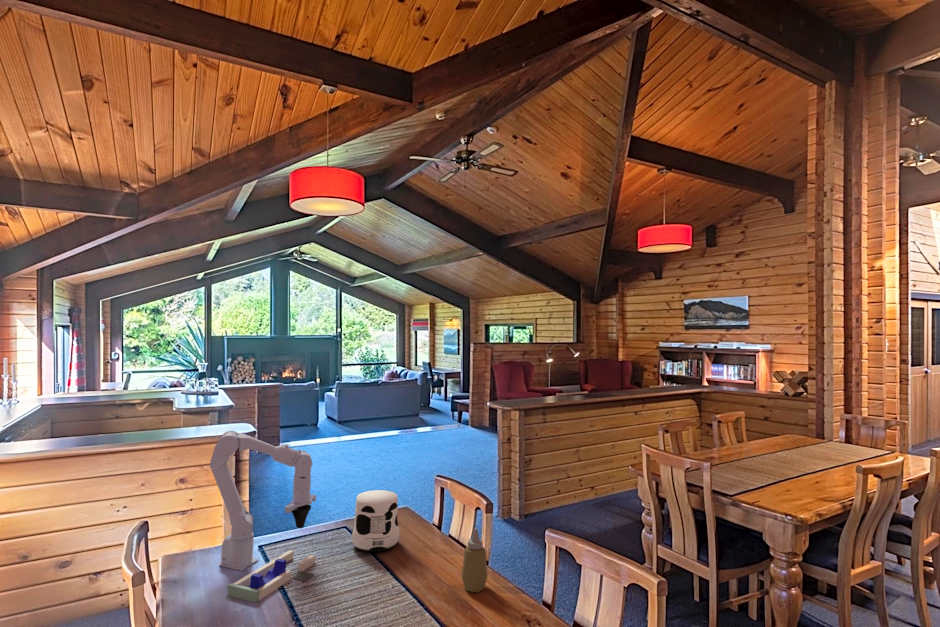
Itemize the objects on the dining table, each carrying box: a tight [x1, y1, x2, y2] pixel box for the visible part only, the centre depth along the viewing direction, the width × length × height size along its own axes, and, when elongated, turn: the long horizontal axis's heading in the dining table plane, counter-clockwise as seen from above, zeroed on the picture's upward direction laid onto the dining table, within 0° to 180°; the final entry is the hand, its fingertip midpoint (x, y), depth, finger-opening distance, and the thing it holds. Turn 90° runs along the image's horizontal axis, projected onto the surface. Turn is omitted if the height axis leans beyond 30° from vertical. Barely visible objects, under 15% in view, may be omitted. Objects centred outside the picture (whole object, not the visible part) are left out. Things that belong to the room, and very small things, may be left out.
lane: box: [226, 550, 316, 603], centre depth 155 cm, size 10×27×3 cm, turn 161°
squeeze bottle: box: [461, 528, 488, 593], centre depth 152 cm, size 8×8×18 cm
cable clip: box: [249, 557, 287, 589], centre depth 150 cm, size 12×4×6 cm, turn 162°
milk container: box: [351, 489, 400, 553], centre depth 181 cm, size 17×17×18 cm
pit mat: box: [290, 571, 315, 583], centre depth 156 cm, size 5×5×1 cm
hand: (300, 527), depth 171 cm, fingers closed
